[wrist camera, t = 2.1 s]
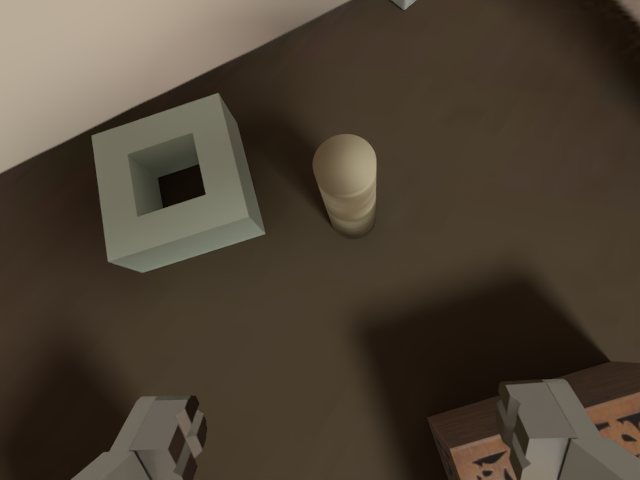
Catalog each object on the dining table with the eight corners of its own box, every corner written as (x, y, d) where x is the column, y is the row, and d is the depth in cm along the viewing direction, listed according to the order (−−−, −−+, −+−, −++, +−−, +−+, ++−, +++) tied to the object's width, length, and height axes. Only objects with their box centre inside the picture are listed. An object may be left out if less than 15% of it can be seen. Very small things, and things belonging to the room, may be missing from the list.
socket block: (237, 123, 39) (218, 92, 35) (265, 233, 36) (248, 216, 31) (125, 160, 40) (91, 135, 35) (142, 272, 37) (107, 261, 32)
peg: (367, 190, 36) (364, 126, 25) (381, 231, 35) (385, 181, 24) (325, 204, 36) (305, 145, 25) (338, 244, 35) (322, 200, 24)
